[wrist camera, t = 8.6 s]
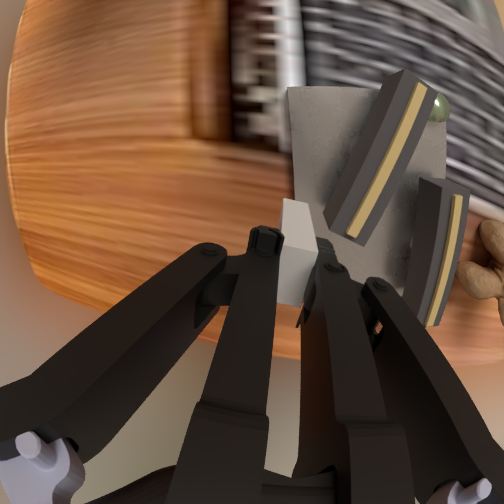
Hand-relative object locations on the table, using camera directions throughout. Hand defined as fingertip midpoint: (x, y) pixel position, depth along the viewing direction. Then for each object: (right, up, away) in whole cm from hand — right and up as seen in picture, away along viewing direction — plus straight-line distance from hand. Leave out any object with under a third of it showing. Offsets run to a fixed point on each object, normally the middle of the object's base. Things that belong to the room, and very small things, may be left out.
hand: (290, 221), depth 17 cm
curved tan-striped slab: (+15, -1, +8) cm, 17 cm away
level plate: (+10, +3, +8) cm, 13 cm away
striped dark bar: (+8, +7, +5) cm, 12 cm away
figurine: (+29, -2, +9) cm, 31 cm away
